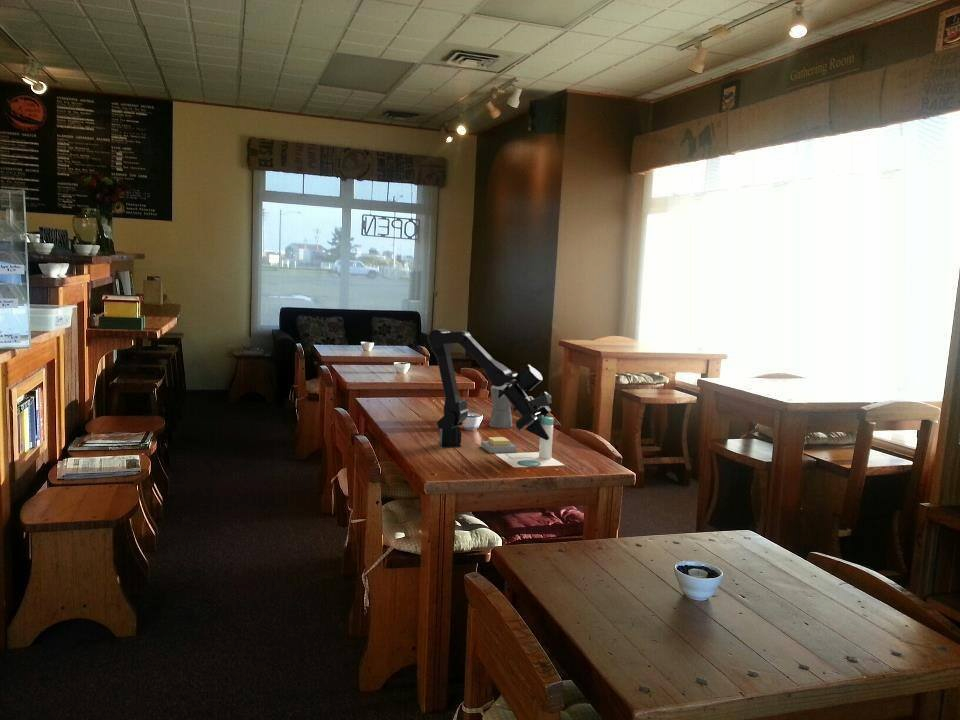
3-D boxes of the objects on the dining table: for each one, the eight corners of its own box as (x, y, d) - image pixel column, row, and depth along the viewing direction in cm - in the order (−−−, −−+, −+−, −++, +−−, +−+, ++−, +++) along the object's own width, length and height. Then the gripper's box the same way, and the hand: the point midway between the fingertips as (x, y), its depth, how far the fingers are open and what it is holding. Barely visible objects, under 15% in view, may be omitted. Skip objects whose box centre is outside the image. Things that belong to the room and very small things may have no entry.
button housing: (490, 454, 247) (490, 447, 247) (481, 448, 256) (481, 441, 255) (516, 453, 250) (516, 446, 250) (506, 447, 259) (506, 440, 258)
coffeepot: (502, 430, 286) (504, 382, 284) (481, 426, 291) (483, 379, 289) (522, 424, 299) (525, 379, 296) (502, 421, 304) (504, 376, 302)
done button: (493, 447, 249) (494, 441, 249) (488, 443, 254) (488, 437, 254) (509, 447, 251) (509, 440, 251) (503, 443, 256) (503, 437, 256)
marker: (541, 459, 242) (544, 419, 240) (536, 456, 245) (539, 416, 244) (553, 459, 243) (555, 418, 241) (548, 456, 247) (550, 416, 245)
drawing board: (512, 469, 230) (512, 467, 230) (492, 454, 247) (492, 452, 247) (566, 467, 236) (567, 464, 236) (543, 453, 253) (543, 451, 253)
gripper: (527, 387, 235) (559, 427, 231) (546, 381, 252) (577, 418, 248) (502, 410, 239) (533, 449, 235) (523, 402, 256) (552, 438, 253)
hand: (550, 438), depth 243 cm, fingers closed on marker, 4 cm apart
